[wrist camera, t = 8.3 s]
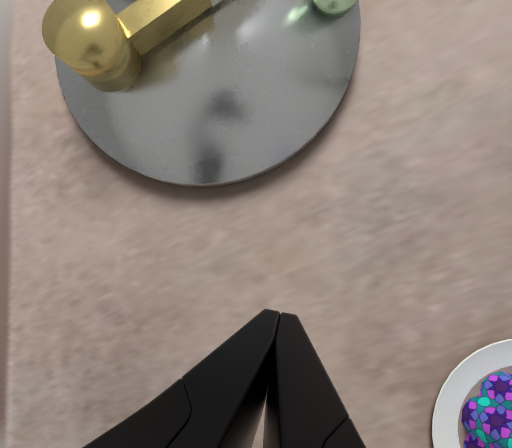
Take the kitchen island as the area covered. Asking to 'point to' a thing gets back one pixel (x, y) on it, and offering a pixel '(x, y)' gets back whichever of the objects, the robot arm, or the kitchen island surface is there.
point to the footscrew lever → (113, 35)
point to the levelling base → (225, 91)
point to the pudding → (477, 401)
